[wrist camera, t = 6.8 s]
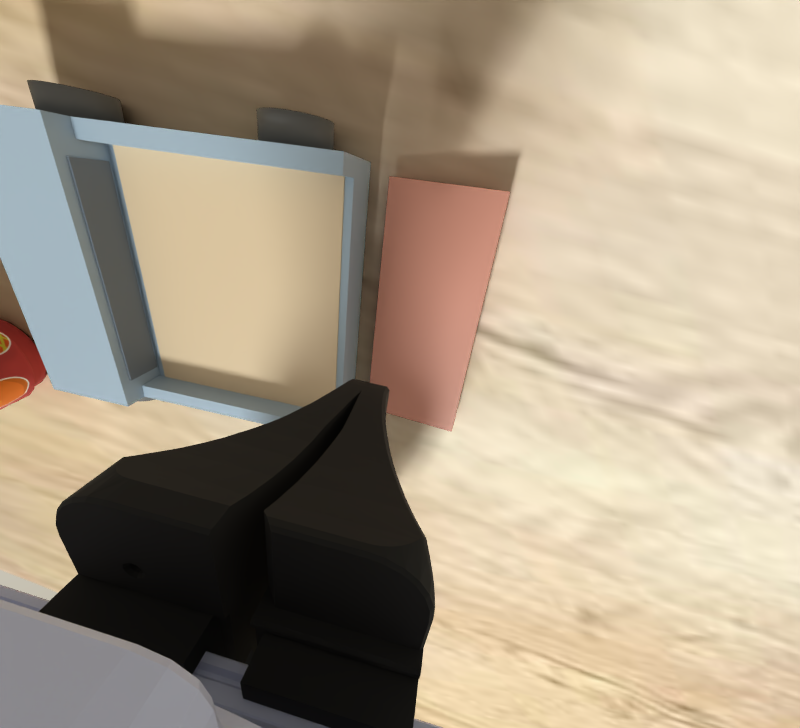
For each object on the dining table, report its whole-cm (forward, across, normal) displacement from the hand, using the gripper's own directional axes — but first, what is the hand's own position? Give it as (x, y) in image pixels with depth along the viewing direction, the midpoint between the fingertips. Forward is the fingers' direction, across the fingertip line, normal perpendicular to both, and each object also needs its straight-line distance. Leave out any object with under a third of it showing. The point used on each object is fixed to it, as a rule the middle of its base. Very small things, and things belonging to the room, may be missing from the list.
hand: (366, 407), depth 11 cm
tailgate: (+9, +2, -1) cm, 9 cm away
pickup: (+9, +11, -1) cm, 14 cm away
